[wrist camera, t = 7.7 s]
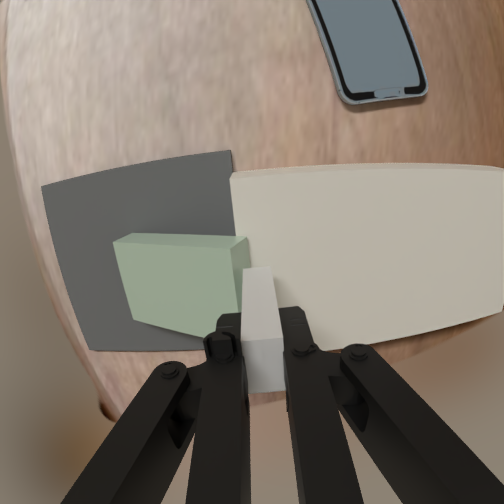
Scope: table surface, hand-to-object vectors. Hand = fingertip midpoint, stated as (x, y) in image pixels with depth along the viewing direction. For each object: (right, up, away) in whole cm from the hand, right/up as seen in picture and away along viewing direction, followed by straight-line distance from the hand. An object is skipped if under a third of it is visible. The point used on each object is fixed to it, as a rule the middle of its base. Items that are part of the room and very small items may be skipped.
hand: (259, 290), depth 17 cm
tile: (-4, 0, +3) cm, 5 cm away
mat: (-9, +1, +5) cm, 10 cm away
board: (+10, +3, +5) cm, 11 cm away
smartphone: (+7, +20, -1) cm, 21 cm away
